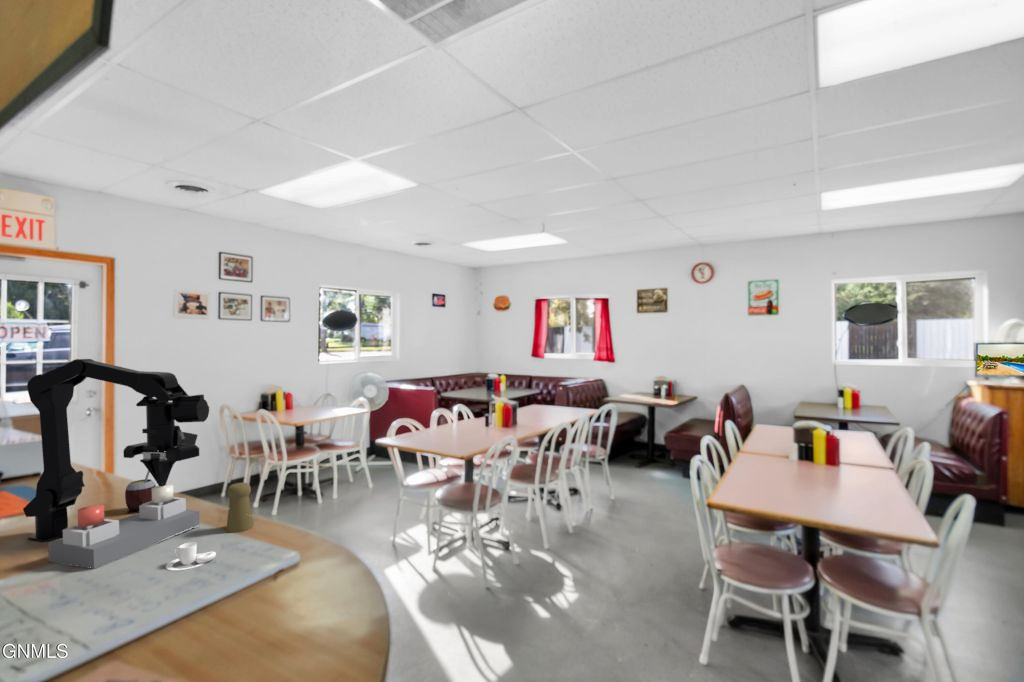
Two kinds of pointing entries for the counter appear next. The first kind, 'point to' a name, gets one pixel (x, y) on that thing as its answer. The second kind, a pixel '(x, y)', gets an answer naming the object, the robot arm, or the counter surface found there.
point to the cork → (239, 508)
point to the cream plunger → (162, 493)
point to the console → (122, 534)
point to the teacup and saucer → (190, 556)
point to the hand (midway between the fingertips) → (162, 485)
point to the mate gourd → (138, 493)
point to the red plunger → (90, 515)
